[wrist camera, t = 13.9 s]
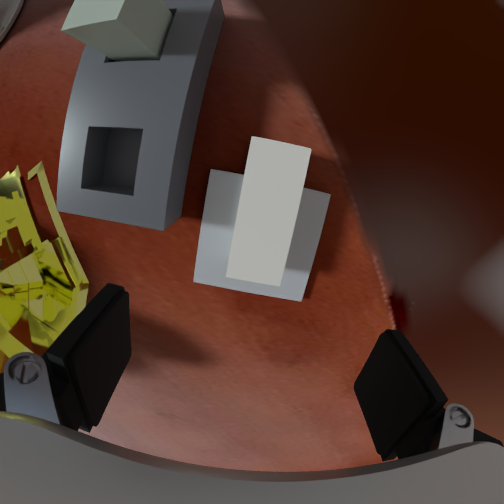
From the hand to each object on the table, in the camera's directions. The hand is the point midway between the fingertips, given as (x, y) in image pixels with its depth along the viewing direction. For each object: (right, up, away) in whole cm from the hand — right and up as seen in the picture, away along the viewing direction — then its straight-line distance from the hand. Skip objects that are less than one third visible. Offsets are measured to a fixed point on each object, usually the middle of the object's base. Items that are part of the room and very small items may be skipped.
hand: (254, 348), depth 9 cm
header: (-9, +16, +11) cm, 22 cm away
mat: (+1, +5, +15) cm, 16 cm away
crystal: (-28, +2, +16) cm, 32 cm away
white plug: (0, +2, +13) cm, 13 cm away
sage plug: (-8, +20, +8) cm, 23 cm away
